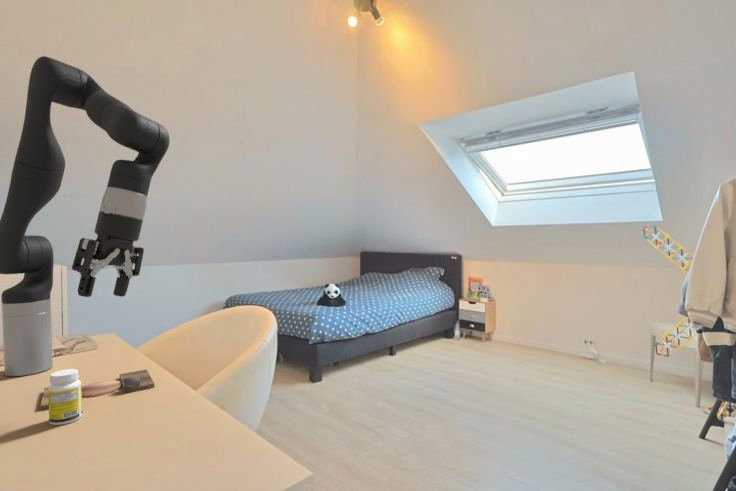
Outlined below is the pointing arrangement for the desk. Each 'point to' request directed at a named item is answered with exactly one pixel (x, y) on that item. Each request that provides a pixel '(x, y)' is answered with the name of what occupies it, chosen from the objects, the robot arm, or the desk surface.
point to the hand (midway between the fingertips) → (102, 296)
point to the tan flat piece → (111, 386)
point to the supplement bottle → (65, 397)
